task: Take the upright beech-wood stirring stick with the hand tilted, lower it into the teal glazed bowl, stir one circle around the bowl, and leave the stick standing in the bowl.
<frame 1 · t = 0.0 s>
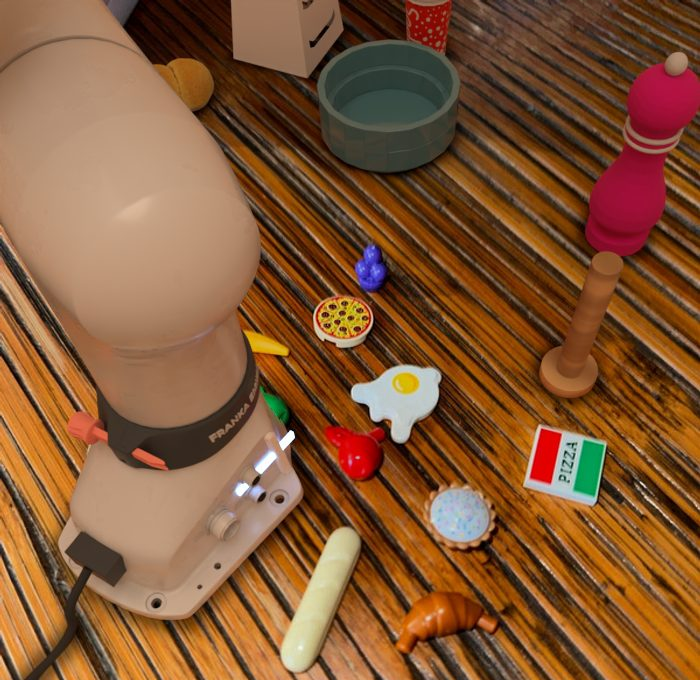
beverage cup: (425, 59, 95), on the table
bread roll: (177, 99, 93), on the table
stick: (567, 375, 72), on the table
grater: (289, 45, 97), on the table
pepper mill: (614, 236, 80), on the table
bowl: (388, 130, 89), on the table
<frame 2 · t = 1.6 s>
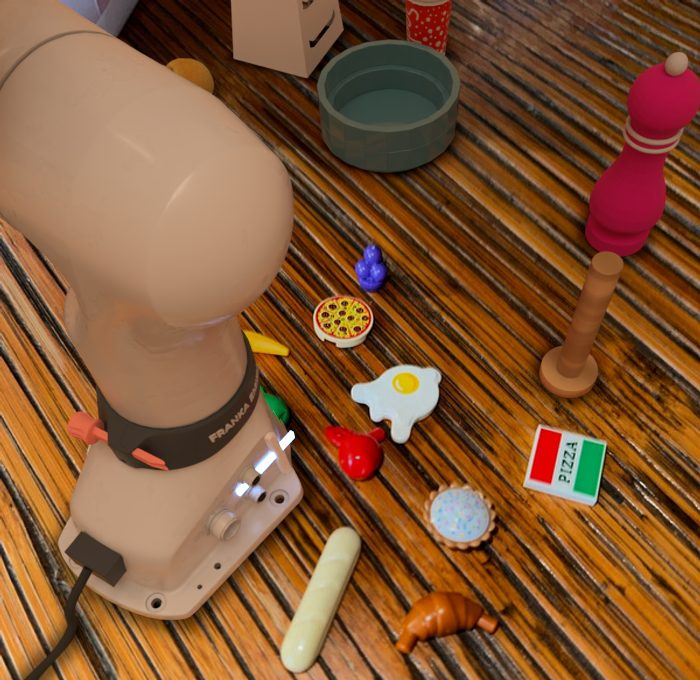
nothing on the table moved.
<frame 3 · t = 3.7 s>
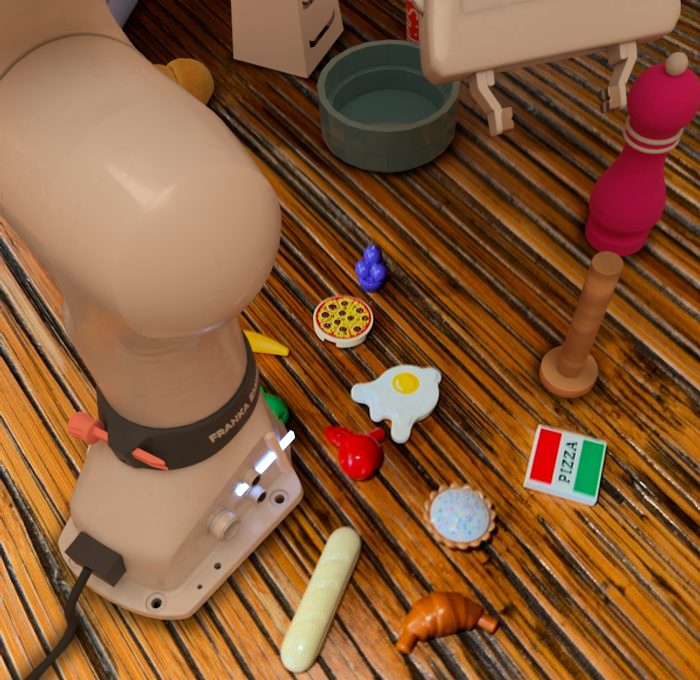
hand: (558, 122, 61), 18 cm above the table, tool tilted 45°, fingers open, 8 cm apart
nothing on the table moved.
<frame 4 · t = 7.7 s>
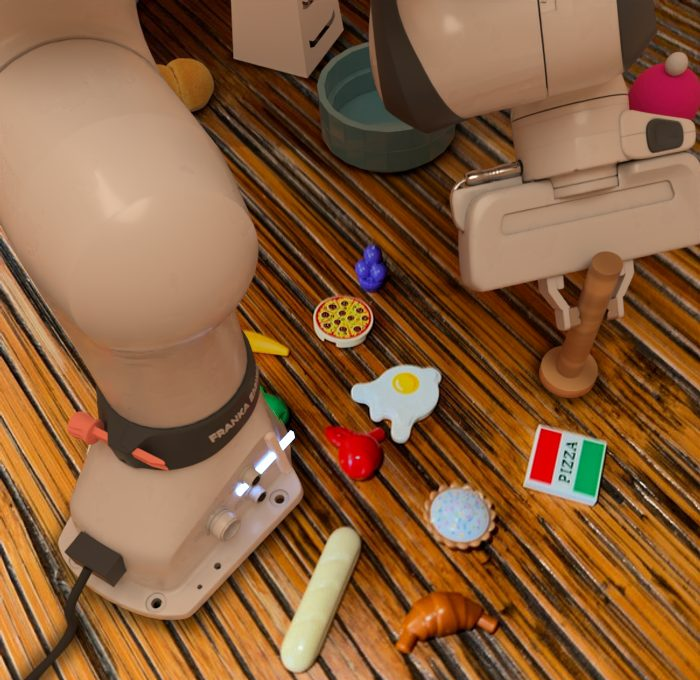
hand: (590, 323, 64), 8 cm above the table, tool tilted 45°, fingers closed on stick, 2 cm apart
stick: (566, 375, 72), on the table, touching gripper
everything else where it was.
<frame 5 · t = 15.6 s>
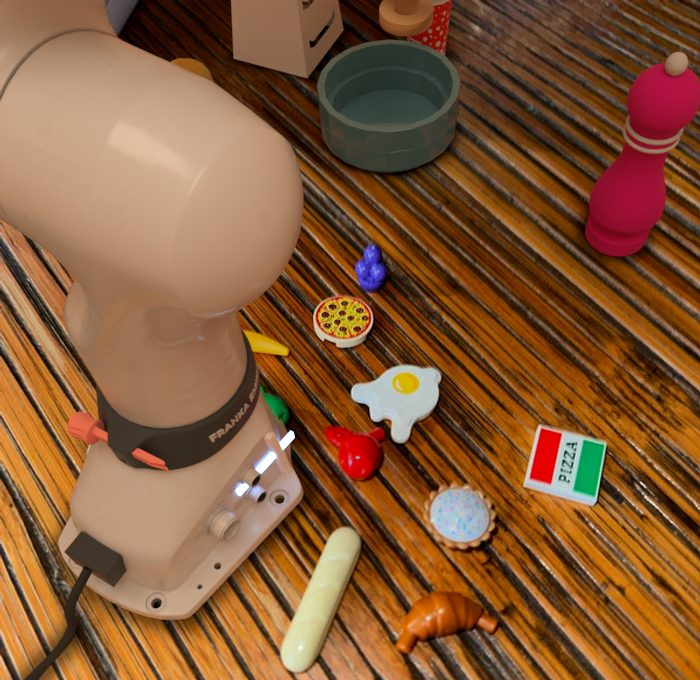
stick: (406, 20, 74), point 15 cm above the table, touching gripper
everything else where it was.
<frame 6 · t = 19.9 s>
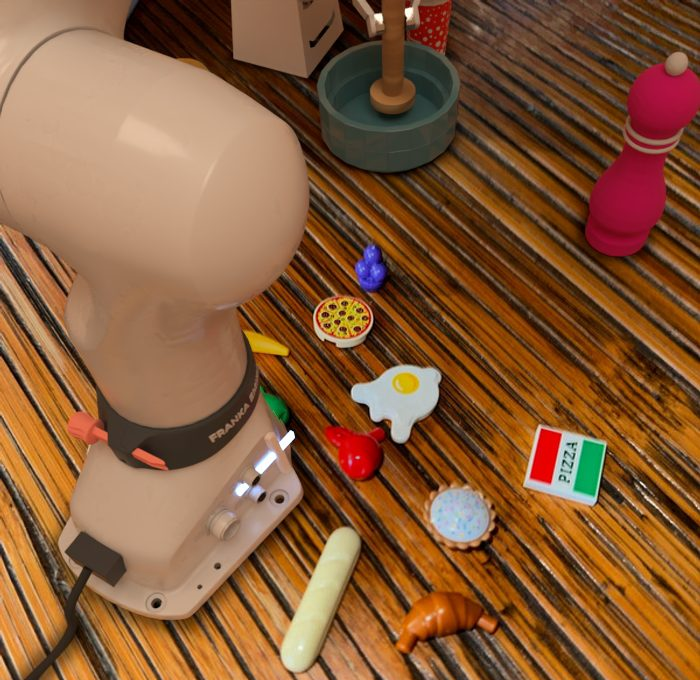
hand: (395, 31, 80), 11 cm above the table, tool tilted 45°, fingers closed on stick, 2 cm apart
stick: (392, 99, 88), point 2 cm above the table, touching gripper
everything else where it was.
when the fingers open (9 cm above the table, at t = 23.4 s): stick stays where it is, resting on bowl.
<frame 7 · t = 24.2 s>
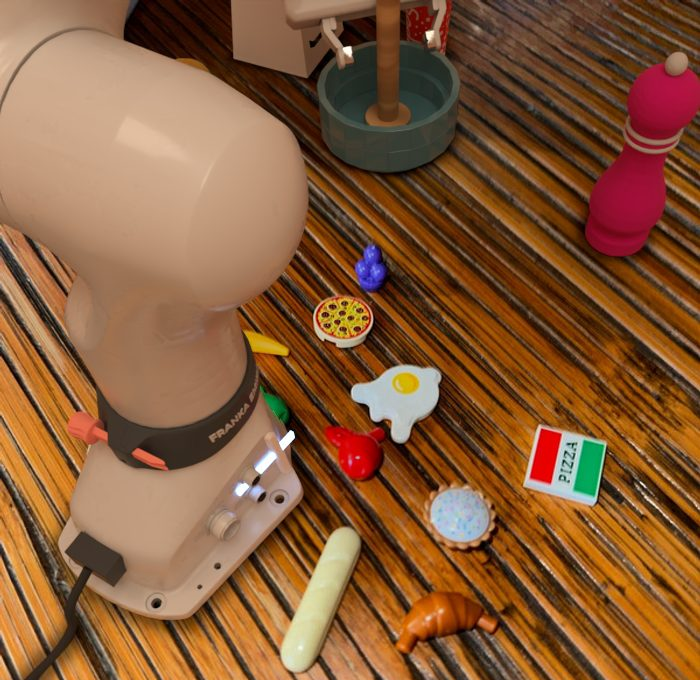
hand: (390, 59, 80), 9 cm above the table, tool tilted 45°, fingers open, 8 cm apart
stick: (388, 124, 88), point 1 cm above the table, touching bowl
everything else where it was.
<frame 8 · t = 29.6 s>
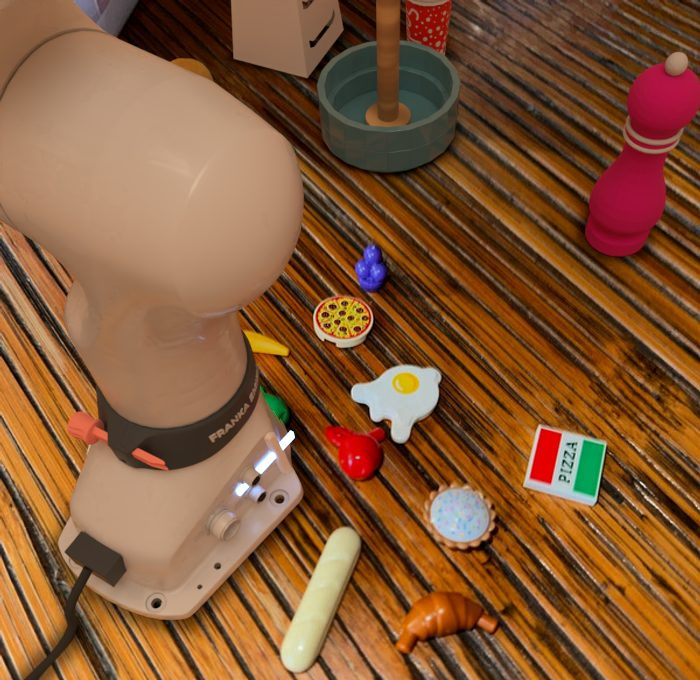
nothing on the table moved.
at the end: stick inside the target area in the bowl (0.0 cm from its centre), point 0.8 cm above the bowl's base; stick tilted 0°; the gripper is holding nothing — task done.
